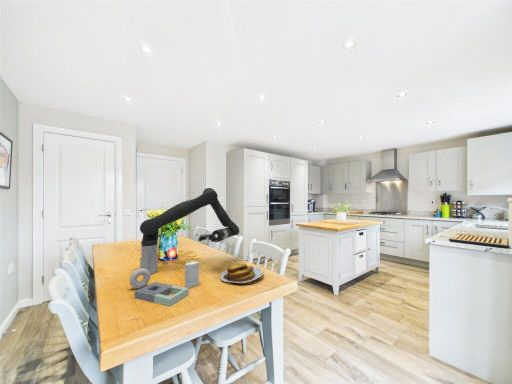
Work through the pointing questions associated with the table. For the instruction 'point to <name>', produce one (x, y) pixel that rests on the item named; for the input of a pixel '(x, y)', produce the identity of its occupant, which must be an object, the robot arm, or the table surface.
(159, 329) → the table surface
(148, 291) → the frame
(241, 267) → the food on plate
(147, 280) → the donut
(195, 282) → the skincare box
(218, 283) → the table surface
